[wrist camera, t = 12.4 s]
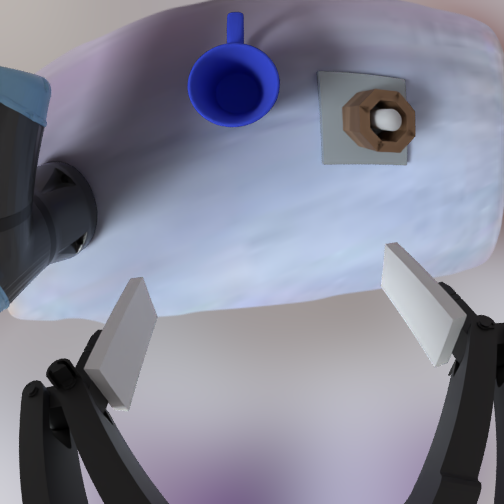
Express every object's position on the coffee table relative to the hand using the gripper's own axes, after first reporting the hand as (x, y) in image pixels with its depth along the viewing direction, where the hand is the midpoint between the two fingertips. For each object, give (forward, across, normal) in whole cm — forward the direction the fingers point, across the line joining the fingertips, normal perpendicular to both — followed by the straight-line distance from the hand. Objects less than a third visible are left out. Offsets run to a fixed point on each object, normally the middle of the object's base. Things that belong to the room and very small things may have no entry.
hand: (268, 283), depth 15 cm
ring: (+22, +16, +7) cm, 28 cm away
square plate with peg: (+23, +16, +7) cm, 29 cm away
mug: (+24, 0, +13) cm, 28 cm away
